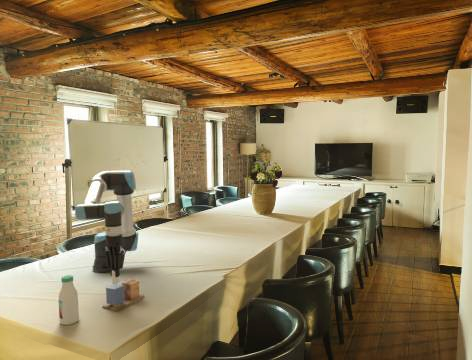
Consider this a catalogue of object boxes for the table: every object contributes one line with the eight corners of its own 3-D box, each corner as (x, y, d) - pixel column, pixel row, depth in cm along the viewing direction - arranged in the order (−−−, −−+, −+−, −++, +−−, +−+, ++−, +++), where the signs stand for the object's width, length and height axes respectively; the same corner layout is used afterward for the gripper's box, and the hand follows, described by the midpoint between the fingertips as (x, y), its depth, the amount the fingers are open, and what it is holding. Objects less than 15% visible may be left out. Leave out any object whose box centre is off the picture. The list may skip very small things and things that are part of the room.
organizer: (102, 307, 169) (101, 289, 168) (129, 294, 185) (128, 277, 184) (118, 311, 164) (117, 292, 164) (144, 297, 181) (143, 279, 180)
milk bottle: (81, 316, 160) (79, 273, 158) (74, 325, 152) (72, 279, 150) (64, 317, 159) (62, 274, 158) (56, 325, 152) (54, 280, 150)
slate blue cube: (106, 303, 169) (106, 287, 168) (115, 298, 174) (115, 283, 174) (116, 305, 167) (115, 289, 166) (124, 300, 172) (124, 285, 171)
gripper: (97, 234, 167) (99, 283, 169) (118, 237, 161) (120, 287, 163) (109, 231, 174) (111, 278, 175) (130, 234, 168) (131, 282, 170)
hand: (115, 283), depth 169 cm, fingers closed
